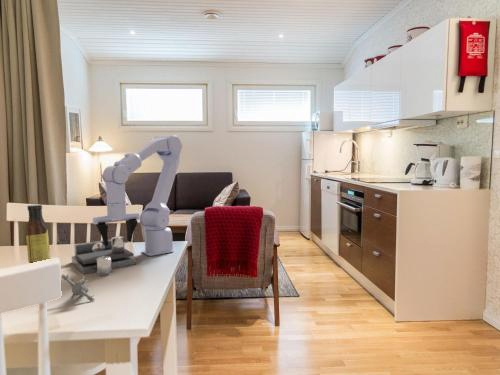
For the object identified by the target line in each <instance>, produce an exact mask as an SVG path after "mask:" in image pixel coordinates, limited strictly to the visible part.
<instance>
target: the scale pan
mask: <svg viewBox="0 0 500 375" xmlns="http://www.w3.org/2000/svg"><path fill="white" fill-rule="evenodd" d="M103 256H110V257H111V260H113V259H119V258H124V257H130V256H133V257H134V253H133V252H132V251H130V250H128V249H126V248H125V252H124V253H122V254H112V250H106V251H99V252H93V253H87V254H80V255H77V258H78V259H79V260H80V261H81V262H82V263H83V264H90V263H96V262H97V258H98V257H103Z"/></svg>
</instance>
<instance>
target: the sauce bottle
mask: <svg viewBox="0 0 500 375" xmlns="http://www.w3.org/2000/svg"><path fill="white" fill-rule="evenodd" d="M26 207H27V211H28V221H27V223H26V225H25V231H26V232H25V233H26V234H25V236H26V237H25V238H26V247H27V248H26V249H27V260H28V264H29V263H33V262H37V261H42V260H46V259H50V260H51V251H50V249H51V248H50V239H49V238H50V237H49V229H48V226H47V223H46V222H45V220H44V217H43V211H42V210H43V205H42V204H38V203H37V204H29V205H27V206H26Z"/></svg>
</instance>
